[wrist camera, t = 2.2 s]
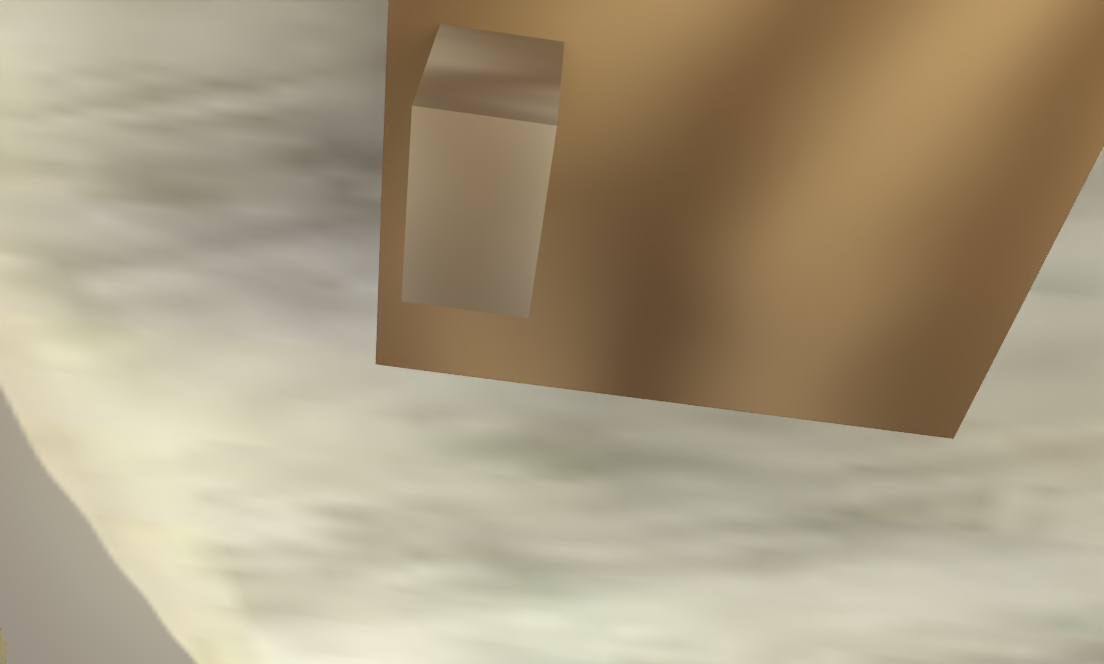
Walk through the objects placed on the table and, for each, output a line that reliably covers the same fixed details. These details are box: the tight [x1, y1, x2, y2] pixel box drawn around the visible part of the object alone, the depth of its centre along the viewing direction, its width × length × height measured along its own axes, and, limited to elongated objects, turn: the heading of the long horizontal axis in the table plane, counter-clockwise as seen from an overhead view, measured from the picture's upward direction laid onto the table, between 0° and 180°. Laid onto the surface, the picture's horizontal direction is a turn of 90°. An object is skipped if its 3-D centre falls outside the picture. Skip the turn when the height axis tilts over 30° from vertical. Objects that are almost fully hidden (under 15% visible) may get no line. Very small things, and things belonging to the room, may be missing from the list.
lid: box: [376, 0, 1104, 439], centre depth 20 cm, size 14×13×4 cm
